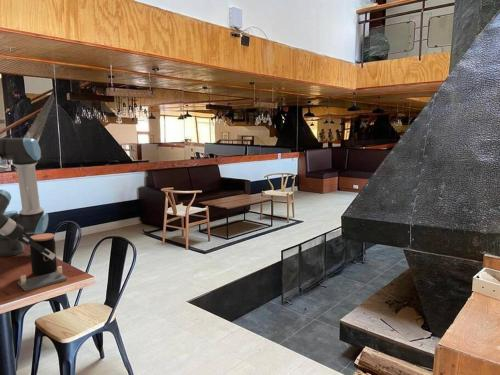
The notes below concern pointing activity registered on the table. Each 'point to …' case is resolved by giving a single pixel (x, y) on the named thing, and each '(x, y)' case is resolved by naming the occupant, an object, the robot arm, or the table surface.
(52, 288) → the table surface
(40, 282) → the peg board
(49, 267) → the coffee jar
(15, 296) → the table surface
